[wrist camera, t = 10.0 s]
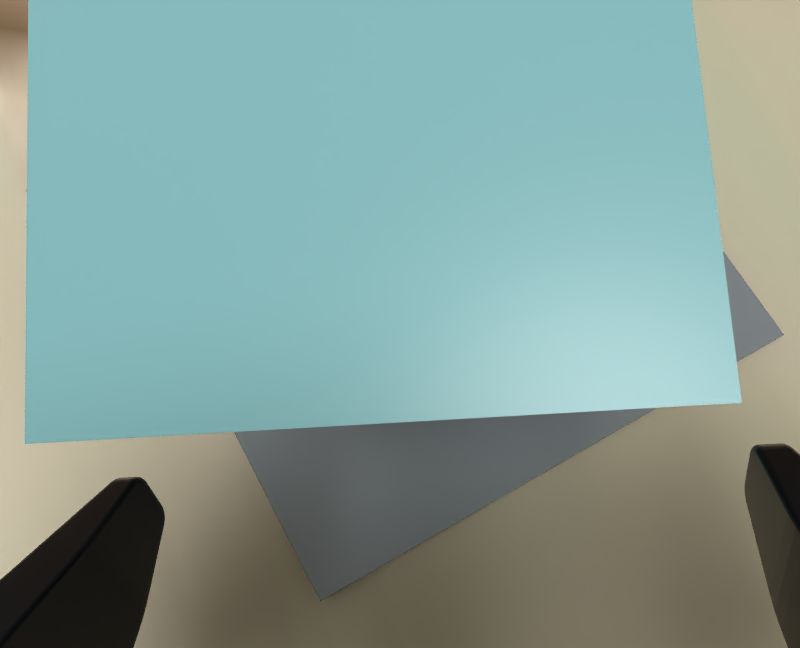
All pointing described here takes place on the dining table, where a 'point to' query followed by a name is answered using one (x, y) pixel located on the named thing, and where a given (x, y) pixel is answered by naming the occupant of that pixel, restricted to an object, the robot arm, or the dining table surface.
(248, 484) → the dining table surface
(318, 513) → the slate mat
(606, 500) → the dining table surface
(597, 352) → the teal rectangular block
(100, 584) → the robot arm
